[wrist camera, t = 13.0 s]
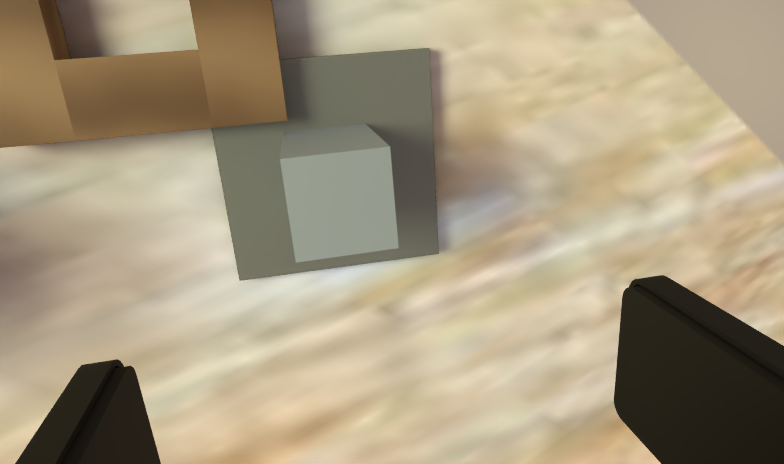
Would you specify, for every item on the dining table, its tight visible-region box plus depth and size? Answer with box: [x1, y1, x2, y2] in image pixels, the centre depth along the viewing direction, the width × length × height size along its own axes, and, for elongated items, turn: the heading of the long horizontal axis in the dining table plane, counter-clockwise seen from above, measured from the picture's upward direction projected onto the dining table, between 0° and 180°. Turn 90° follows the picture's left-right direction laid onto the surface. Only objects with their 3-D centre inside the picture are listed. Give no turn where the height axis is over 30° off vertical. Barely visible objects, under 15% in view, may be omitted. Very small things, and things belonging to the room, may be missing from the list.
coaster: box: [212, 48, 439, 281], centre depth 30 cm, size 12×12×1 cm
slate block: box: [280, 124, 399, 263], centre depth 26 cm, size 4×4×8 cm
